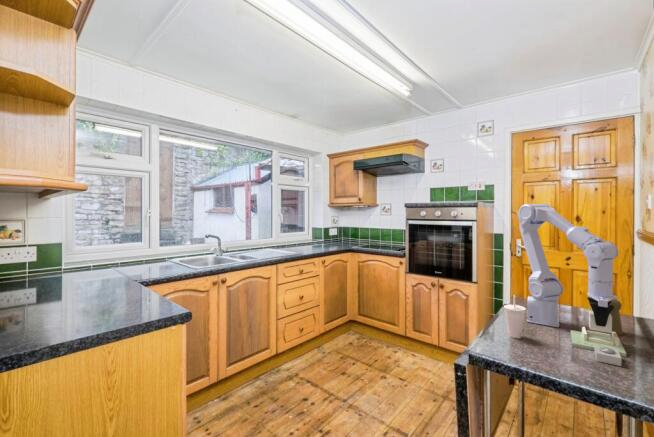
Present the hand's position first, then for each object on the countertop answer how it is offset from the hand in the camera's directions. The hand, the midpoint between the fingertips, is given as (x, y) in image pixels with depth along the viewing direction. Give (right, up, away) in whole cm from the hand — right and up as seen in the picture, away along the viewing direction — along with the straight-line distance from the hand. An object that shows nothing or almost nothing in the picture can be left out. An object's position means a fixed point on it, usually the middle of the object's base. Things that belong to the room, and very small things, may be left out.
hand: (599, 323), depth 96 cm
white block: (0, -2, 0) cm, 2 cm away
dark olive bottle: (+11, -6, +8) cm, 15 cm away
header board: (-2, -6, -1) cm, 6 cm away
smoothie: (-23, -6, +6) cm, 25 cm away
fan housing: (-7, -7, -10) cm, 14 cm away
